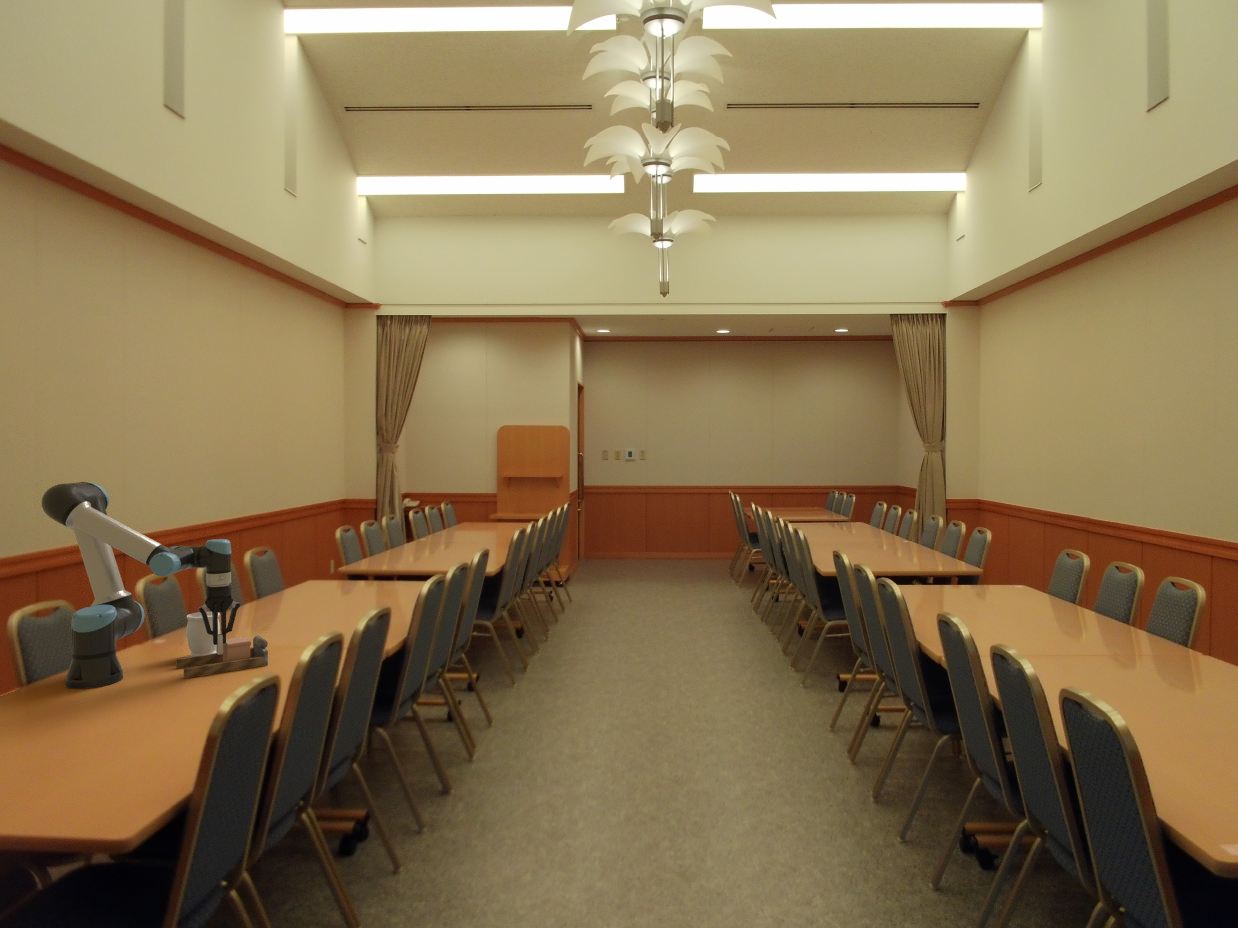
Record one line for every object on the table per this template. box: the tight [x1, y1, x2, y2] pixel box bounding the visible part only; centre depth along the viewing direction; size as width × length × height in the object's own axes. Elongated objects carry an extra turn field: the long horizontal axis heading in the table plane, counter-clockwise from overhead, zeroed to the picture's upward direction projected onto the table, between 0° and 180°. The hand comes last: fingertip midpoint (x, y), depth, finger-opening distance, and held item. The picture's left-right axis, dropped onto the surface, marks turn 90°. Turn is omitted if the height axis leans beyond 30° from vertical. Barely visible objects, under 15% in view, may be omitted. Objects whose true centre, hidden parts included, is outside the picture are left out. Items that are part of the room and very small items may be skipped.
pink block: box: [222, 636, 252, 663], centre depth 257 cm, size 7×8×8 cm
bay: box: [176, 635, 269, 679], centre depth 255 cm, size 26×16×8 cm, turn 129°
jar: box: [185, 611, 221, 657], centre depth 268 cm, size 11×10×15 cm
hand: (219, 653), depth 254 cm, fingers closed
